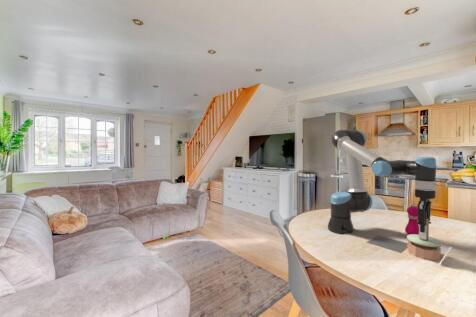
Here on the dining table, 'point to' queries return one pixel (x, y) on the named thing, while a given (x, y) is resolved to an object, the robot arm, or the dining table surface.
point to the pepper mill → (412, 221)
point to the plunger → (425, 242)
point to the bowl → (424, 251)
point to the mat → (388, 243)
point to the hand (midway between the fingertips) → (423, 237)
